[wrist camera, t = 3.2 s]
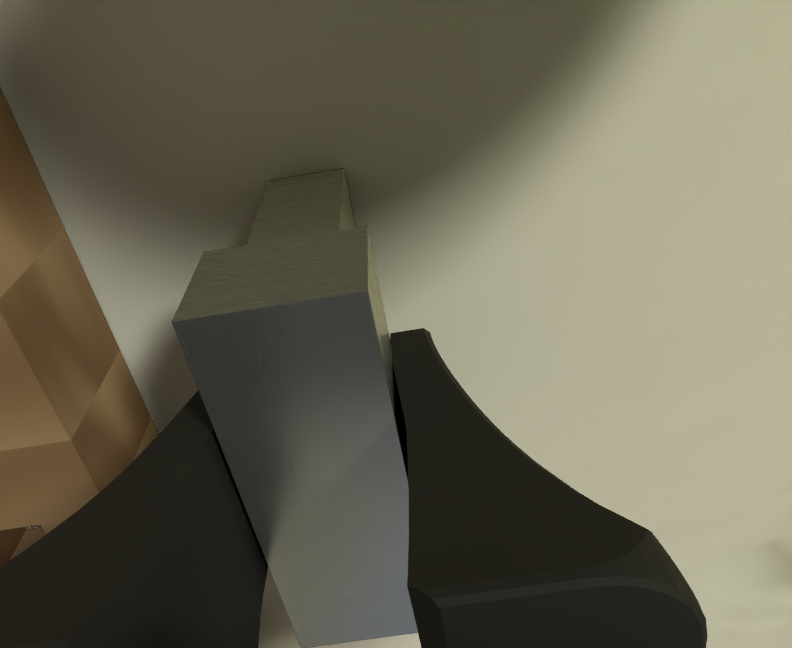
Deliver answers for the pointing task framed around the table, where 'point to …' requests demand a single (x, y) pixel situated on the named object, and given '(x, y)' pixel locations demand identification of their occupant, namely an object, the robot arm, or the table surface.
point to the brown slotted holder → (53, 366)
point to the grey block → (309, 408)
